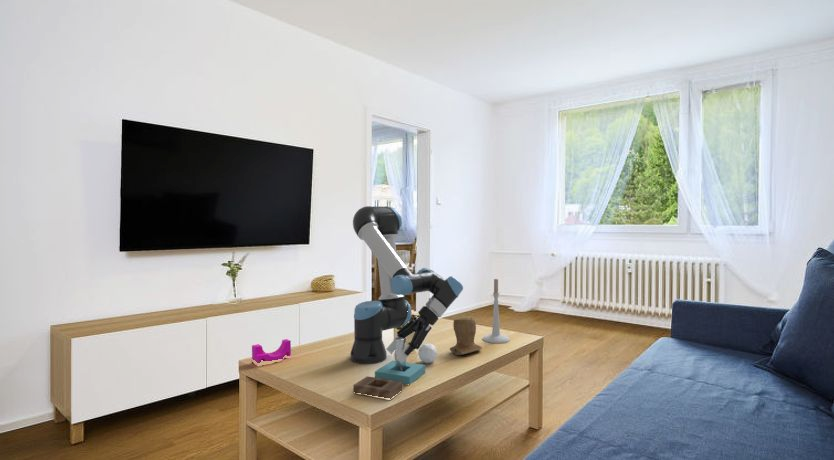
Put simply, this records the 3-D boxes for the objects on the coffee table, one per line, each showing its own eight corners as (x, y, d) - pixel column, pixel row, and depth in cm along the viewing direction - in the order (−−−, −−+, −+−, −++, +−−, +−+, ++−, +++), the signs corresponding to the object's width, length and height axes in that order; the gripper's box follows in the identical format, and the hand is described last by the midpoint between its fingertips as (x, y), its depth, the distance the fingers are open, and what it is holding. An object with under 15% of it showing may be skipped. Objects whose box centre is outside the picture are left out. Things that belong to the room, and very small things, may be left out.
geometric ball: (430, 367, 185) (440, 350, 187) (430, 366, 178) (440, 349, 180) (415, 357, 187) (425, 340, 189) (413, 355, 179) (424, 338, 181)
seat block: (374, 379, 164) (374, 371, 164) (392, 367, 176) (392, 360, 176) (409, 385, 158) (409, 376, 158) (425, 372, 171) (425, 365, 171)
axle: (393, 377, 166) (393, 339, 166) (398, 373, 170) (398, 337, 169) (403, 378, 165) (403, 340, 164) (407, 375, 168) (407, 338, 168)
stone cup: (465, 345, 207) (465, 313, 207) (485, 351, 198) (485, 317, 198) (442, 352, 197) (442, 318, 197) (462, 358, 188) (462, 323, 188)
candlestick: (478, 341, 215) (478, 278, 215) (488, 335, 226) (488, 275, 225) (503, 344, 208) (503, 280, 208) (513, 338, 219) (513, 277, 219)
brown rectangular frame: (353, 393, 150) (353, 384, 150) (367, 384, 159) (367, 376, 159) (390, 400, 145) (390, 391, 145) (402, 390, 153) (402, 382, 153)
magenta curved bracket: (257, 367, 178) (257, 348, 178) (252, 363, 183) (251, 345, 183) (293, 359, 188) (293, 342, 188) (287, 356, 193) (286, 339, 192)
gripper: (414, 299, 181) (377, 341, 176) (437, 311, 159) (396, 359, 154) (426, 312, 183) (390, 353, 178) (451, 324, 161) (411, 372, 156)
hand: (393, 356), depth 166 cm, fingers open, 11 cm apart
